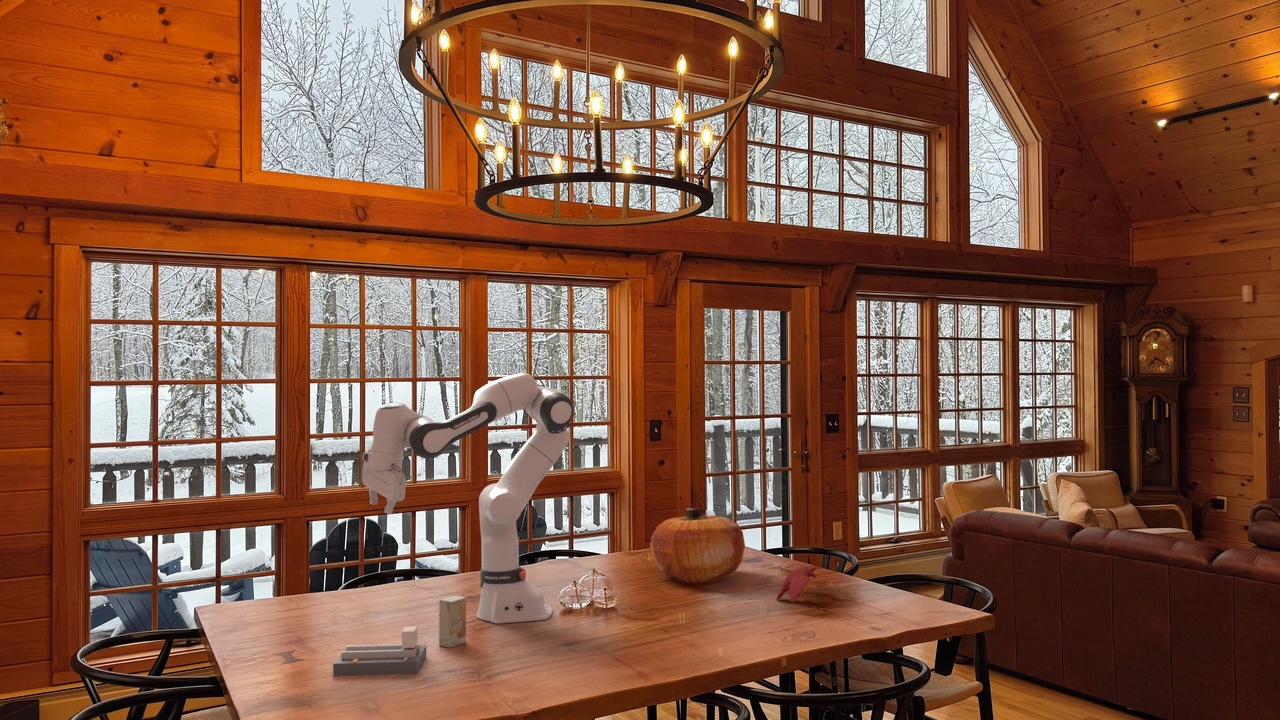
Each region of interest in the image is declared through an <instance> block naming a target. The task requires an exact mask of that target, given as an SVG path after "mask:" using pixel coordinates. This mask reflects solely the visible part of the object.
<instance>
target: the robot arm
mask: <svg viewBox="0 0 1280 720" xmlns="http://www.w3.org/2000/svg"><path fill="white" fill-rule="evenodd" d="M518 411H523V412H524V413H525V414H526V416H528V417H530V418H531V419H533V420H534V421H535V422H536V425H535V428H534V431H533V433H532V435H530V437H529V438H528V439H527V440H526V441H525V443H524V444H523V445H522V447H521V448H520V449H519V450H518V451H517V453H516V454H515V455H514V456H513V457H512V459H511V460H510V461H509V463H508V466H507V467H506V469H505V471H504V472H503V473H502V476H501V477H500V479H499V480H498V482H496V483H491V484H488V485H487V486H485V487H484V488H483V490H482V491H481V492H480V494H479V497H478V509H479V510H478V512H479V513H478V514H479V527H480V530H479V531H480V538H481V540H480V541H481V569H480V570H479V571H480V572H479V586H480V588H481V589H480V597H479V599H480V600H479V603H478V609H477V613H476V617H477V618H478V619H479V620H483V621H487V622H490V623H493V624H507V623H508V624H509V623H518V622H519V623H521V622H531V621H532V622H533V621H534V622H536V621H543V620H547V619H549V618H550V617H551V616H552V615H553V614H552V613H553V609H552V607H551V606H550V605H548V604H546V603H545V598H544V595H543V592H542V590H541V589H539V588H538V587H537V586H535V585H534V584H533V583H531V582H530V581H529V580H527V579H526V577H527V572H526V569H525V567H523V568H522V567H521V566H519V563H520V557H519V555H520V553H519V549H520V547H519V537H518V529H517V528H518V527H517V520H518V519H519V518H520V516H521V514H522V512H523V511H524V509H525V507H526V505H528V503H529V501H530V499H531V498H532V496H533V494H534V493H535V491H536V489H537V487H538V486H539V485H540V483H541V482H542V481H543V479H544V478H545V476H546V475H547V474H548V472H549V471H551V469H552V468H553V466H554V465H555V464H556V462H557V461H558V460H559V458H560V457H561V455H562V454H563V452H564V450H565V448H566V447H567V445H568V443H569V441H570V433H569V430H568V428H569V427H570V425H571V421H572V420H573V418H574V414H575V406H574V403H573V401H572V400H571V398H570V397H569V396H568V395H566V394H564V393H562V392H561V391H559V390H557V389H555V388H552V387H547V386H546V385H542V384H537V382H536V380H535V378H534V377H533V376H532V375H531V374H530V373H527V372H518V373H513V374H510V375H506V376H503V377H501V378H498V379H495V380H493V381H491V382H489V383H486V384H485V385H483V386H482V387H480V388H478V389H477V390H476V391H475V393H474V395H473V399H472V404H471V406H470V407H469V408H468V409H466V410H464V411H462V412H461V413H459V414H457V415H455V416H452V417H450V418H449V419H446V420H444V421H434V420H433V419H431V418H430V417H428V416H427V415H423V414H422V413H421V414H420V413H418V412H417V411H414V410H413V409H411V408H410V407H409V406H407V405H406V404H405V403H402V402H387V403H384V404H381V405H380V406H379V407H378V408H377V411H376V413H375V416H374V422H373V426H372V438H373V440H372V444H371V447H370V451H367V452H363V454H362V461H363V465H362V472H361V473H362V474H361V481H362V484H363V485H364V486H366V487H368V494H369V504H371V505H372V506H374V505H378V503H379V498H378V494H379V495H381V496H383V497H385V498H386V503H387V504H386V505H385V506H384V513H385V514H387V515H391V514H393V511H394V508H395V505H396V504H397V502H402V501H404V499H405V497H406V486H407V485H406V481H407V480H406V475H405V474H404V472H403V459H404V450H405V449H406V448H410V449H411V450H412V451H413V453H414V454H415V455H416V456H418V458H419V457H420V458H422V459H425V460H432V459H436V458H438V457H439V456H441V455H442V454H444V453H445V452H446V450H447V449H448V448H450V447H451V446H452V445H453V444H454V443H456V442H457V441H459V440H460V439H463V438H465V437H467V436H469V435H471V434H472V433H475V432H476V431H478V430H480V429H483V427H486V426H487V425H489V424H491V423H493V422H496V421H498V420H501V419H502V418H505V417H508V416H510V415H511V414H514V413H517V412H518Z"/></svg>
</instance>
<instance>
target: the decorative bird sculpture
mask: <svg viewBox="0 0 1280 720" xmlns="http://www.w3.org/2000/svg"><path fill="white" fill-rule="evenodd" d="M816 569H817V566H811V567H810V566H809V567H803V568H798V569H795V570H793V571H791V572H790V573H788V575H787V576H786V577H785V579H784V580H783V583H782V586H781V587H780V590H779V592H778V593H777V596H776V601H779V600H780V599H781V598H782V597H783V596H784V595H785V593H788V594H789V595H788V596H789V602H792V603H794V602H796V600H797V599H798V598H799V599H800V600H802V603H804V602H806V601H807V599H808V598H809V597H805V596H804V595H803V594H802V591H804V590H805V588H806V586H807V585H808V583H809V581H810V578H811V577H812V578H813V579H816V578H817V575H816V574H815V573H814V572H815V571H816Z"/></svg>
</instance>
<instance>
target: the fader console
mask: <svg viewBox="0 0 1280 720" xmlns="http://www.w3.org/2000/svg"><path fill="white" fill-rule="evenodd" d="M415 646H419V651H418V653H417V654H416V649H405V650H400V649H401V648H402V643H399V644H398V643H397V644H395V643H394V644H393V643H390V644H362V645H360V644H359V645H346V647H345V650H343V651H341V652H340V654H341V655H339V656H338V658H337V659H336V660H335V661H334V662H333V664H332V668H333V669H332V676H333V677H348V676H349V677H350V676H352V677H353V676H380V675H381V676H383V675H385V676H386V675H387V676H388V675H389V676H390V675H413V674H414V675H416V674H419V673H418V672H420V669H421V668H422V666H423V664H424V663H425V661H426V659H427V645H421V643H417V644H416V645H415Z"/></svg>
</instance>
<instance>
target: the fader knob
mask: <svg viewBox="0 0 1280 720" xmlns="http://www.w3.org/2000/svg"><path fill="white" fill-rule="evenodd" d="M401 644H402V648H401V649H400V650H405V649H416V654H417V653H418V651H419V646H415V645H416V644H418V627H417V626H404V628H403V629H402V631H401Z"/></svg>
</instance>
